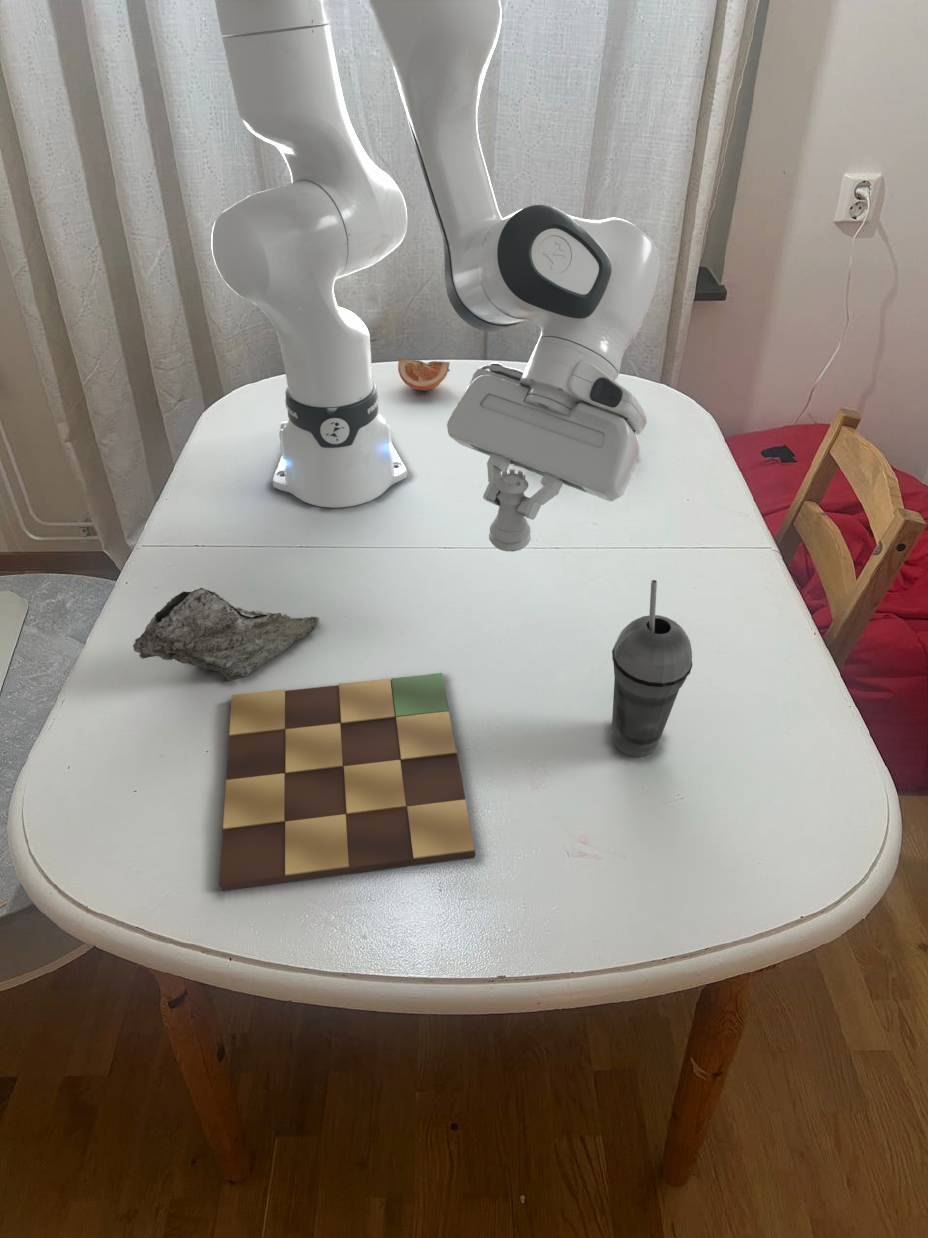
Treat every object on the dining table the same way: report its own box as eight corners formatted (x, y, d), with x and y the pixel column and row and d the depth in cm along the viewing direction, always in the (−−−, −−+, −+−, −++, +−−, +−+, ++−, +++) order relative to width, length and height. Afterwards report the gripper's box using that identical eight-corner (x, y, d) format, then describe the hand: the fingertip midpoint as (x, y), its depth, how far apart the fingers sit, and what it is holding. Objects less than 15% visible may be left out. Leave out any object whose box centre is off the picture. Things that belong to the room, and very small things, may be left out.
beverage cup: (654, 780, 82) (692, 626, 68) (585, 748, 85) (609, 594, 71) (682, 730, 86) (723, 577, 73) (616, 702, 89) (644, 549, 76)
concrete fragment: (326, 633, 97) (316, 556, 89) (171, 717, 87) (145, 639, 80) (296, 605, 100) (284, 529, 93) (143, 683, 91) (116, 606, 83)
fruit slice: (451, 380, 144) (451, 352, 140) (447, 399, 139) (447, 371, 135) (402, 378, 144) (401, 350, 141) (396, 397, 139) (395, 368, 136)
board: (233, 702, 89) (231, 694, 88) (442, 680, 91) (442, 672, 91) (221, 891, 73) (218, 883, 72) (475, 857, 75) (475, 850, 74)
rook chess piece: (527, 555, 88) (531, 490, 83) (485, 550, 89) (486, 485, 84) (533, 531, 92) (538, 466, 86) (492, 526, 92) (494, 462, 87)
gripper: (469, 345, 88) (413, 467, 89) (648, 401, 79) (585, 537, 80) (493, 370, 94) (440, 484, 94) (662, 425, 85) (602, 551, 85)
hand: (508, 509), depth 87 cm, fingers closed on rook chess piece, 3 cm apart
